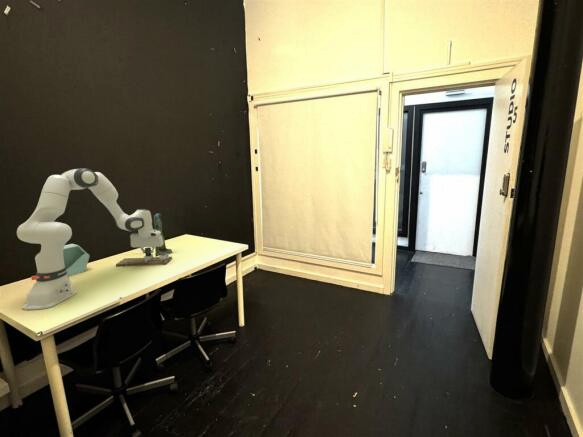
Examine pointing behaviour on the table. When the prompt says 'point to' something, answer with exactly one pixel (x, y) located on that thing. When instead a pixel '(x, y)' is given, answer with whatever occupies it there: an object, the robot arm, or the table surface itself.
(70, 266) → the planter
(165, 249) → the statue
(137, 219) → the robot arm
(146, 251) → the divider leg
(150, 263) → the plate
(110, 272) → the table surface
